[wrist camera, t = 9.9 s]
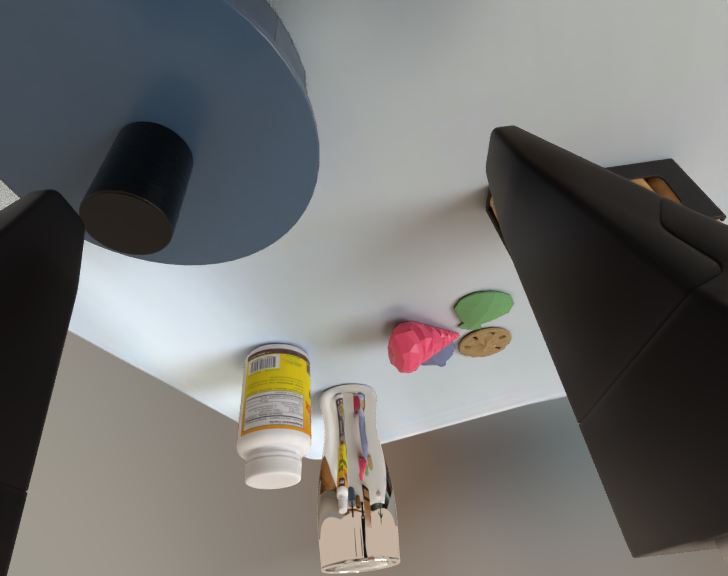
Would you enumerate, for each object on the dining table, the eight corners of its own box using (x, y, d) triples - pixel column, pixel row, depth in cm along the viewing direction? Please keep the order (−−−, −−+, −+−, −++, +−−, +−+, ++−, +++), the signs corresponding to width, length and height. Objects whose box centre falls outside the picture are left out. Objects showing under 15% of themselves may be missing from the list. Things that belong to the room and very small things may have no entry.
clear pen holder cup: (382, 378, 41) (407, 556, 31) (379, 408, 46) (399, 567, 37) (312, 384, 40) (315, 567, 31) (317, 413, 46) (321, 576, 36)
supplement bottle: (291, 378, 39) (289, 494, 33) (234, 365, 36) (220, 489, 30) (322, 350, 36) (326, 473, 29) (262, 333, 33) (253, 465, 26)
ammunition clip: (484, 209, 25) (564, 389, 18) (488, 184, 24) (577, 368, 16) (658, 184, 25) (816, 355, 17) (673, 158, 24) (852, 330, 16)
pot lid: (-154, -63, 11) (-350, -3, 8) (304, -64, 12) (304, -10, 8) (79, 256, 20) (36, 345, 17) (326, 242, 21) (331, 325, 18)
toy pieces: (376, 368, 39) (382, 412, 36) (387, 294, 31) (396, 344, 28) (497, 361, 40) (511, 403, 38) (540, 288, 32) (563, 335, 29)
